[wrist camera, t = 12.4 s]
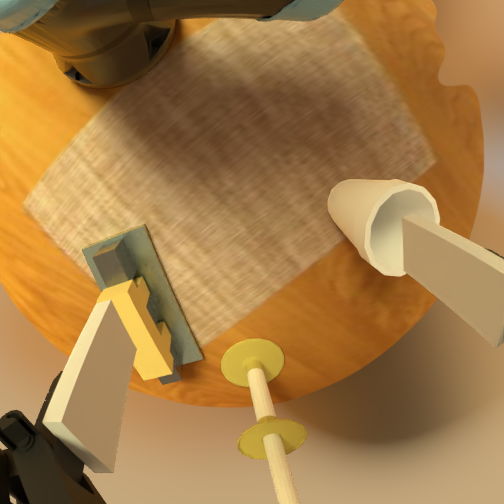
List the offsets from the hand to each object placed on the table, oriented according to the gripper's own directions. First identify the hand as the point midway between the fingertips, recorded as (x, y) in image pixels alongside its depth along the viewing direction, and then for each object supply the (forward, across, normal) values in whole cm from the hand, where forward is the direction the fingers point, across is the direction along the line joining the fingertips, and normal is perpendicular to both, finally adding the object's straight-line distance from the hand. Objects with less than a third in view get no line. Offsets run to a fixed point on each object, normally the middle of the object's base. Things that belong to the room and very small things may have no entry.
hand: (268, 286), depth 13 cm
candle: (+25, -3, -27) cm, 37 cm away
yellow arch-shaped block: (+24, -15, -12) cm, 30 cm away
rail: (+25, -15, -12) cm, 32 cm away
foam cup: (+26, +15, -6) cm, 30 cm away
